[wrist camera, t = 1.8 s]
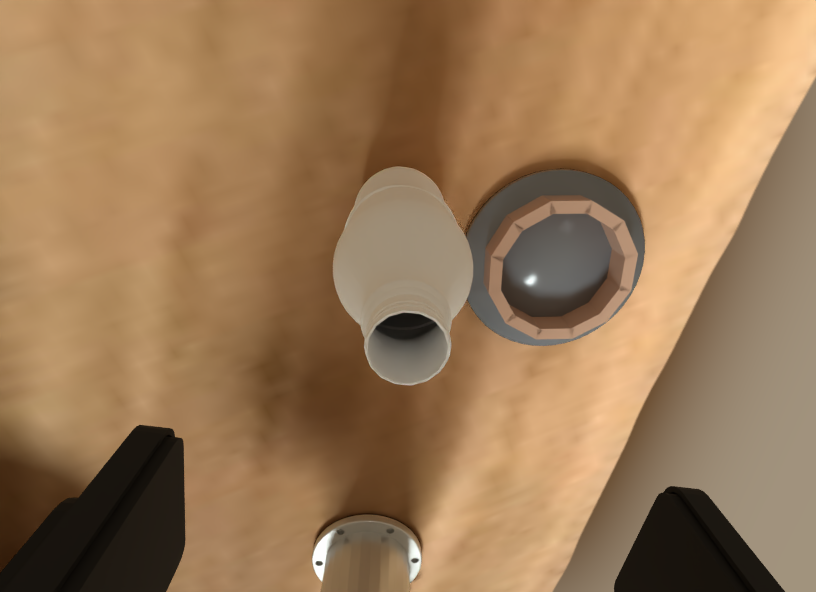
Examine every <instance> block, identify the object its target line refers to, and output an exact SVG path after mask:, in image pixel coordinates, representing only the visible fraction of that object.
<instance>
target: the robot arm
mask: <svg viewBox="0 0 816 592" xmlns="http://www.w3.org/2000/svg"><path fill="white" fill-rule="evenodd" d="M184 547H185V498H184V445H183V440H182V438H176V437H175V434H174V431H173V429H170V428H162V427H154V426H145V425H139V426H137V427H136V428H135V429H134V430H133V431H132V432H131V433H130V434H129V436H128V437H127V438H126V439H125V441H124V442H123V443H122V444H121V446H120V447H119V448H118V449H117V450H116V452H115V453H114V454H113V455H112V457H111V458H110V459H109V460H108V462H107V463H106V464H105V465H104V467H103V468H102V469H101V470H100V472H99V473H98V474H97V475H96V477H95V478H94V479H93V480H92V482H91V483H90V484H89V485H88V487H87V488H86V489H85V490H84V492H83V493H82V494H81V495H80V497H79V498H68V499H66V500H64V501H63V502H61V503H60V504H59V505H58V506H57V507H56V508H55V509H54V510H53V511H52V512H51V513H50V515H49V516H48V517H47V518H46V519H45V520H44V522H43V523H42V524H41V525H40V526H39V528H38V529H37V530H36V531H35V532H34V534H33V535H32V536H31V537H30V538H29V540H28V541H27V542H26V543H25V544H24V545H23V547H22V548H21V549H20V550H19V551H18V553H17V554H16V555H15V556H14V557H13V559H12V560H11V561H10V562H9V563H8V565H7V566H6V567H5V568H4V569H3V570H2V572H1V573H0V592H166V591H167V589H168V587H169V584H170V582H171V580H172V578H173V576H174V574H175V572H176V569H177V567H178V565H179V563H180V561H181V558H182V555H183V551H184ZM421 563H422V554H421V547H420V543H419V541H418V539H417V537H416V536H415V535H414V533H413V532H412V531H411V530H410V529H409V528H408V527H406V526H405V525H404V524H402V523H400V522H398V521H396V520H394V519H391V518H388V517H384V516H379V515H367V514H365V515H355V516H351V517H347V518H344V519H341V520H339V521H337V522H335V523H333V524H331V525H330V526H328V527H327V528H326V529H325V530H324V531H323V532H322V533H321V534H320V535H319V537H318V538H317V540H316V543H315V545H314V549H313V555H312V564H313V568H314V571H315V573H316V574H317V576H318V578H319V579H320V580H321V581H322V586H321V592H410V583H411V582H412V581H413V580H414V578H415V577H416V576H417V574H418V572H419V570H420V567H421ZM614 592H785V591H784V590H783V589H782V588H781V586H780V585H779V584H778V582H777V581H776V580H775V579H774V578H773V576H772V575H771V574H770V573H769V571H768V570H767V569H766V567H765V566H764V565H763V564H762V563H761V561H760V560H759V559H758V558H757V556H756V555H755V554H754V553H753V551H752V550H751V549H750V548H749V546H748V545H747V544H746V543H745V541H744V540H743V539H742V538H741V536H740V535H739V534H738V533H737V531H736V530H735V529H734V528H733V526H732V525H731V524H730V523H729V521H728V520H727V519H726V518H725V516H724V515H723V514H722V513H721V511H720V510H719V509H718V508H717V506H716V505H715V504H714V503H713V501H712V500H711V499H710V498H709V496H708V495H707V494H706V493H705V492H703V491H701V490H699V489H691V488H683V487H675V486H670V487H668V488H667V489H666V490H665V491H664V492H663V493H660V494H659V495H658V496H657V498H656V500H655V502H654V504H653V506H652V508H651V510H650V512H649V514H648V516H647V518H646V520H645V522H644V524H643V526H642V528H641V530H640V532H639V534H638V536H637V538H636V540H635V542H634V544H633V546H632V548H631V550H630V553H629V554H628V556H627V558H626V561H625V562H624V565H623V567H622V569H621V571H620V573H619V575H618V577H617V579H616V581H615V585H614Z"/></svg>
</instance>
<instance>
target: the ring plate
mask: <svg viewBox="0 0 816 592" xmlns="http://www.w3.org/2000/svg"><path fill="white" fill-rule="evenodd" d="M466 239H467V241H468V243H469V246H470V250H471V253H472V259H473V279H472V284H471V288H470V292H469V295H468V297H467V300H468V302H469V304H470V306H471V308H472V309H473V311H474V312H475V314H476V315H477V317H478V318H479V319H480V320H481V321H482V322H483V323H484V324H485V325H486V326H487V327H489V328H490V329H491V330H492V331H494V332H495V333H497V334H499V335H500V336H502V337H504V338H507V339H509V340H511V341H514V342H518V343H521V344H527V345H536V346H547V345H557V344H562V343H566V342H570V341H573V340H576V339H579V338H581V337H583V336H585V335H588V334H589V333H591V332H593V331H595V330H596V329H598V328H599V327H601V326H602V325H603V324H605V323H606V322H607V321H609V320H610V319H611V318H612V317H613V316H614V315H615V314H616V313H617V312H618V311H619V310H620V309H621V308H622V306H623V305H624V304H625V302H626V301H627V300H628V298H629V297H630V295H631V294H632V292H633V290H634V288H635V286H636V284H637V282H638V279H639V277H640V274H641V270H642V266H643V261H644V253H645V240H644V233H643V228H642V225H641V221H640V218H639V216H638V214H637V212H636V210H635V208H634V207H633V205H632V204H631V202H630V201H629V199H628V198H627V197H626V196H625V195H624V194H623V193H622V192H621V191H620V190H619V189H618V188H616V187H615V186H614V185H612V184H611V183H609V182H607V181H606V180H604V179H602V178H600V177H597V176H594V175H592V174H589V173H586V172H582V171H577V170H571V169H551V170H544V171H539V172H534V173H532V174H529V175H526V176H523V177H521V178H519V179H517V180H515V181H513V182H511V183H509V184H508V185H506V186H505V187H503V188H502V189H500V190H499V191H498V192H497V193H495V194H494V195H493V196H492V197H491V198H490V199H489V200H488V201H487V202H486V203H485V204H484V205H483V206H482V207H481V209H480V210H479V212H478V213H477V214H476V216H475V217H474V219H473V221H472V222H471V224H470V226H469V228H468V230H467V233H466Z"/></svg>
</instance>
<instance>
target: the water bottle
mask: <svg viewBox="0 0 816 592" xmlns="http://www.w3.org/2000/svg"><path fill="white" fill-rule="evenodd" d="M333 278H334V284H335V288H336V291H337V294H338V296H339V299H340V301H341V303H342V305H343V306H344V308H345V310H346V311H347V312H348V313H349V315H350V316H351V317H352V318H353V319H354V320H355V321H356V322H357V323H358V324H359V325H361V330H362V334H363V336H364V338H365V341H364V349H365V354H366V357H367V360H368V362H369V365H370V367H371V368H372V369H373V370H374V371H375V372H376V373H377V374H378V375H379V376H380V378H382V379H385V380H387V381H389V382H391V383H393V384H399V385H415V384H419V383H423V382H427V381H428V380H430V379H431V378H432V377H434V376H435V375H437V374H438V373H440V371H441V370H442V368H443V367H444V366H445V364H446V362H447V361H448V358H449V356H450V350H451V338H450V334H449V333H450V330H451V324H452V320H453V318H454V317H455V316H456V315H457V314H458V313H459V311H460V310H461V308H462V307H463V305H464V304H465V302H466V299H467V297H468V295H469V292H470V288H471V284H472V279H473V259H472V253H471V250H470V246H469V243H468V241H467V239H466V236H465V234H464V232H463V231H462V230H461V228H460V227H459V225H458V224H457V221H456V219H455V217H454V215H453V213H452V211H451V209H450V208H449V207H448V205H447V204H446V203H445V202H444V199H443V196H442V194H441V192H440V190H439V188H438V187H437V185H436V184H435V183H434V182H433V181H432V180H431V179H430V178H429V177H428V176H426V175H425V174H424V173H422V172H420V171H418V170H416V169H413V168H408V167H400V166H397V167H390V168H387V169H384V170H382V171H379V172H377V173H376V174H374V175H373V176H372V177H370V178H369V179H368V180H367V182H366V183H365V184H364V185H363V186H362V188H361V189H360V191H359V193H358V195H357V198H356V201H355V205H354V207H353V209H352V210H351V212H350V214H349V217H348V219H347V222H346V224H345V228H344V231H343V233H342V235H341V237H340V238H339V240H338V243H337V246H336V249H335V253H334V259H333Z"/></svg>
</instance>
